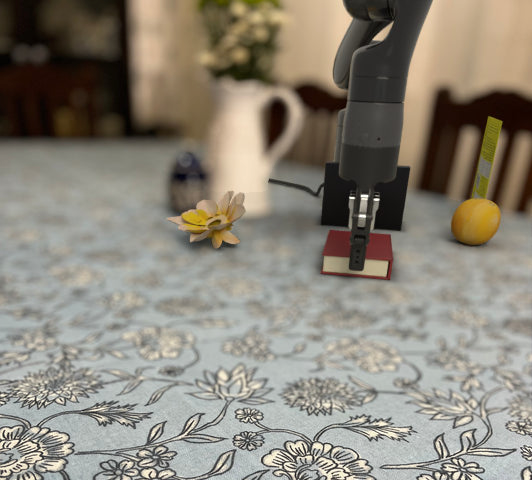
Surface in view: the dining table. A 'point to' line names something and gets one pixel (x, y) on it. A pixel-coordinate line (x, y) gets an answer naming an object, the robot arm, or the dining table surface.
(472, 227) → the fruit
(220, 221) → the decorative flower
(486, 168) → the food package
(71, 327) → the dining table surface
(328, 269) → the book
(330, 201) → the bookend
